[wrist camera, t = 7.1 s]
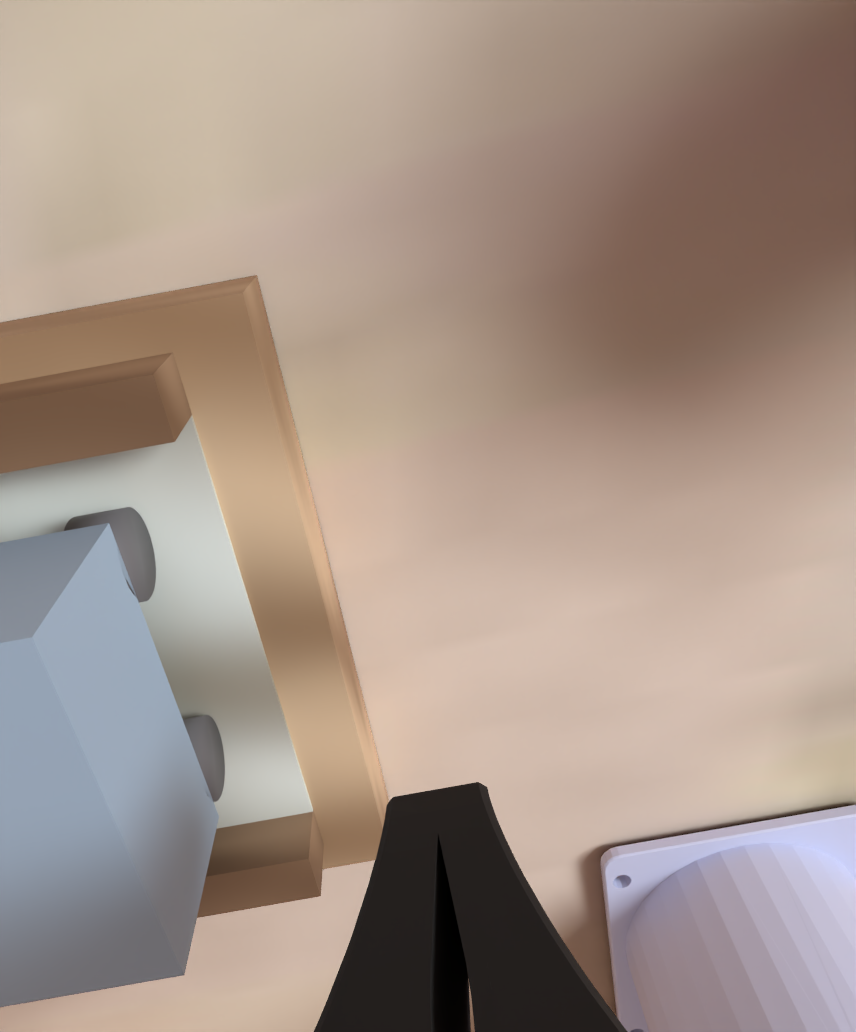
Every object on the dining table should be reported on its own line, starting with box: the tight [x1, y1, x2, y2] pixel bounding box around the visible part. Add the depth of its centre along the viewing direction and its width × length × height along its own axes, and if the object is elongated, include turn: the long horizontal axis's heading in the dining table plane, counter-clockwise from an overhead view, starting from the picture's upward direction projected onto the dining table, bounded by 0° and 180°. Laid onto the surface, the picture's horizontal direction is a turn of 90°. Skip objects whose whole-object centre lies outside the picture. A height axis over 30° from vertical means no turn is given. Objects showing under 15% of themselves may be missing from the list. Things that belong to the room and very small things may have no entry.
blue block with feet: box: [0, 507, 225, 1007], centre depth 15 cm, size 7×5×5 cm, turn 9°
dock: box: [0, 275, 388, 918], centre depth 18 cm, size 14×11×4 cm
